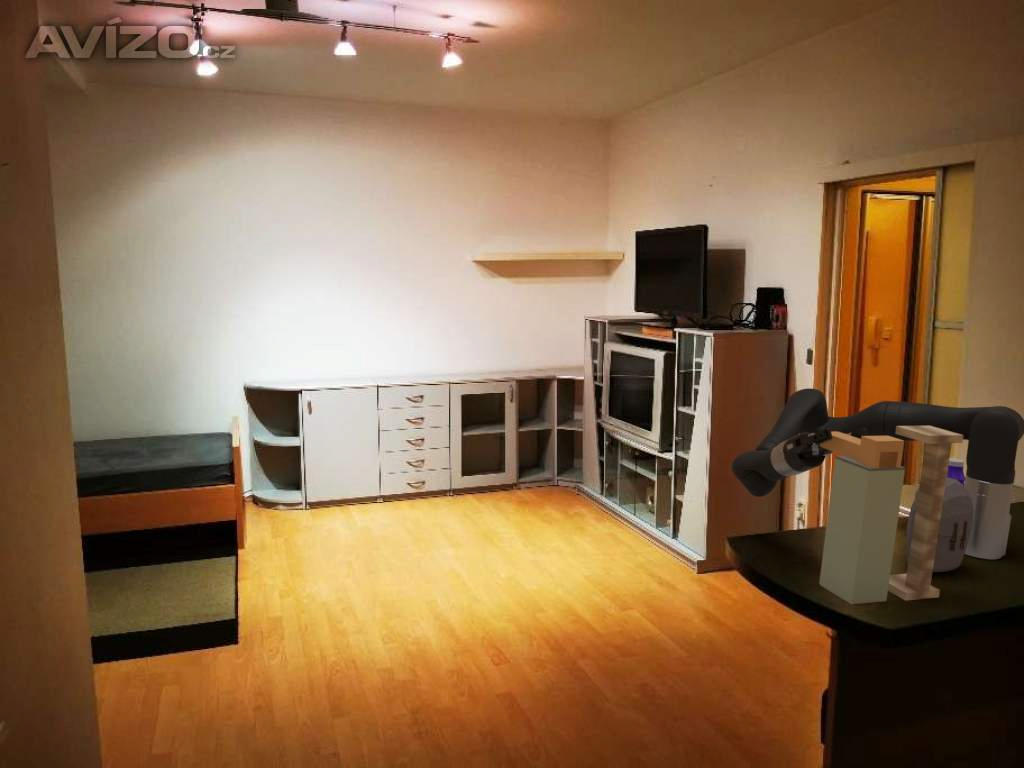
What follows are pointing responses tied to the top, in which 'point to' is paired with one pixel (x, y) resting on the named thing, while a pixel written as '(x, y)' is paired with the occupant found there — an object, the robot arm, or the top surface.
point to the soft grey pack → (948, 526)
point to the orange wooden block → (868, 449)
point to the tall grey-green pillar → (861, 530)
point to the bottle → (956, 470)
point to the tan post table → (925, 512)
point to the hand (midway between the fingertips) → (848, 433)
